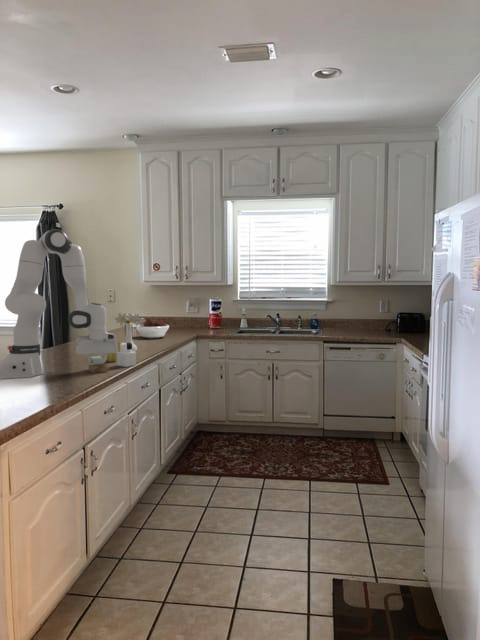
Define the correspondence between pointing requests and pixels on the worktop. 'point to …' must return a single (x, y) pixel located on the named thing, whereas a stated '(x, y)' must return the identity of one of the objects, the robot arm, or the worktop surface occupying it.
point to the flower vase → (130, 326)
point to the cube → (97, 360)
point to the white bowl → (153, 328)
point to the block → (97, 368)
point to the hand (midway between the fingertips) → (97, 362)
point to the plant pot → (113, 354)
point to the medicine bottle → (126, 355)
